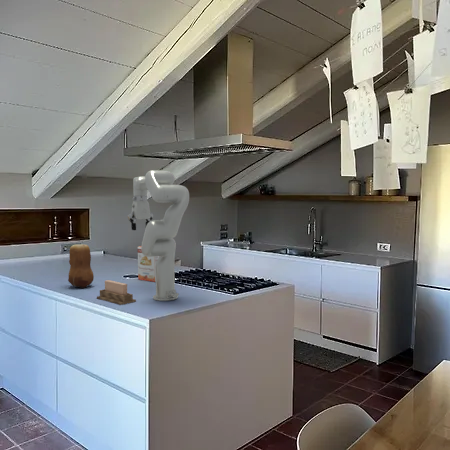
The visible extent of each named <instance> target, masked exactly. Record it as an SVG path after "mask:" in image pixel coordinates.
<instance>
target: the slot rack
mask: <svg viewBox="0 0 450 450" xmlns="http://www.w3.org/2000/svg"><path fill="white" fill-rule="evenodd" d="M133 297H134V296H133V294H132V293H129V292H127V295H125V296H123V295H119V294H115V293H111V292H107V291H105V288H103V289H100V290H99V295H98V296H96V299H98V300H101V301H104V302H109V303H112V304H116V305H120V306H122V305H126V304H127V303H128V304H131V303H136V302H137V300H136V299H134V298H133Z"/></svg>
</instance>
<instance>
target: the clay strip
mask: <svg viewBox="0 0 450 450" xmlns="http://www.w3.org/2000/svg"><path fill="white" fill-rule="evenodd" d="M104 289H105V291H107V292H111V293H115V294H119V295H123V296H125V295H127V293H128V283H123V282H119V281H114V280H109V279H108V280H107V279H106V280H104Z"/></svg>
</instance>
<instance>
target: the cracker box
mask: <svg viewBox="0 0 450 450" xmlns="http://www.w3.org/2000/svg"><path fill="white" fill-rule="evenodd" d="M141 246H142V245H139V246H137V276H138V277H137V278H138V279H137V280H139V281H140V280H141V281H145V282H146V281H147V282H151V283H153V282H154V283H156V262H157V260H158V258H159V256H154V257H146V256H144V255H143V253H142V250H141Z"/></svg>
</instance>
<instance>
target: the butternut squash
mask: <svg viewBox="0 0 450 450" xmlns="http://www.w3.org/2000/svg"><path fill="white" fill-rule="evenodd" d="M68 252H69V255H68V256H69V259H68V260H69V261H68V263H69V266H70V268H69V272H68V280H67V281H68V283H69V284H70V285H71V286H73V287H76V288H81V289H85V288H87V287H89V286H90V285H91V284H93V282H94V279H95V278H94V277H95V276H94V272H93V269H92V267H91V266H92V265H91V261H92V255H91V249H90V246H89V245H88V244H81V243H80V244H73V245H71V246H70V247H69V251H68Z"/></svg>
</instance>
